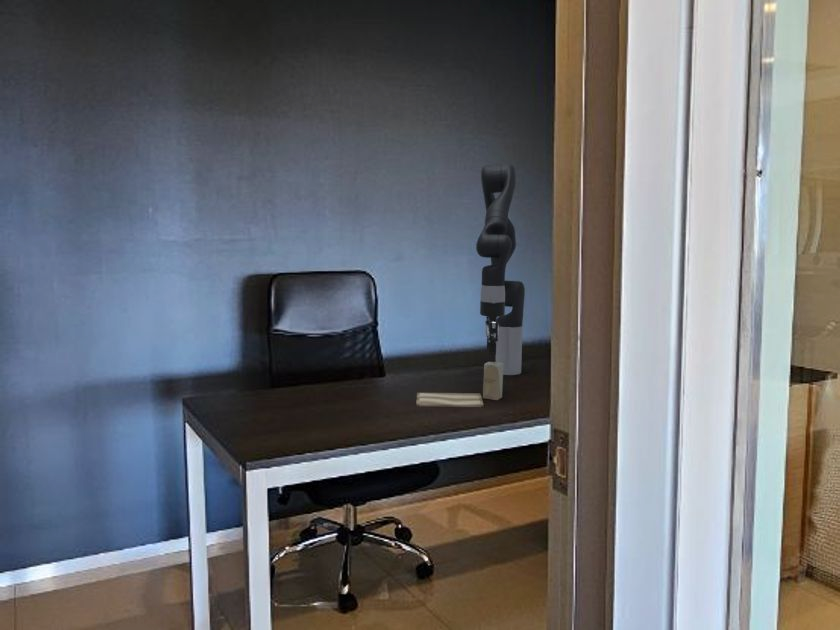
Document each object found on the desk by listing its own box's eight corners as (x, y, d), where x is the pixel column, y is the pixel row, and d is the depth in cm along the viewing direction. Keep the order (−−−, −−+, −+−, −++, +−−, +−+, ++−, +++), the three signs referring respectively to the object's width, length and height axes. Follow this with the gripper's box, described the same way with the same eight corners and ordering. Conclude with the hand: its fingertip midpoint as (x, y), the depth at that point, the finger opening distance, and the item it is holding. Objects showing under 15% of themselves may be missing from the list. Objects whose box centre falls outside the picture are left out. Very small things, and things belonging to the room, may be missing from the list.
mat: (417, 394, 233) (417, 392, 233) (480, 395, 233) (480, 393, 233) (416, 406, 219) (416, 404, 219) (483, 407, 219) (483, 405, 219)
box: (482, 398, 229) (483, 363, 227) (487, 395, 233) (488, 361, 231) (498, 400, 227) (499, 365, 225) (503, 397, 230) (503, 362, 229)
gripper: (479, 297, 233) (477, 347, 235) (481, 302, 218) (480, 356, 221) (502, 297, 232) (501, 348, 235) (507, 302, 218) (505, 356, 220)
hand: (491, 352), depth 228 cm, fingers open, 8 cm apart
